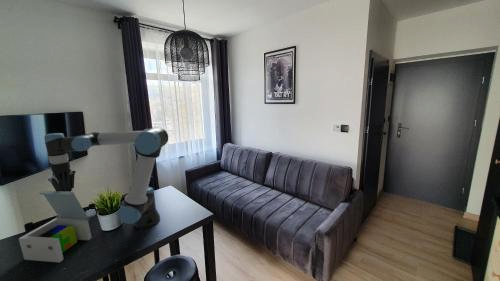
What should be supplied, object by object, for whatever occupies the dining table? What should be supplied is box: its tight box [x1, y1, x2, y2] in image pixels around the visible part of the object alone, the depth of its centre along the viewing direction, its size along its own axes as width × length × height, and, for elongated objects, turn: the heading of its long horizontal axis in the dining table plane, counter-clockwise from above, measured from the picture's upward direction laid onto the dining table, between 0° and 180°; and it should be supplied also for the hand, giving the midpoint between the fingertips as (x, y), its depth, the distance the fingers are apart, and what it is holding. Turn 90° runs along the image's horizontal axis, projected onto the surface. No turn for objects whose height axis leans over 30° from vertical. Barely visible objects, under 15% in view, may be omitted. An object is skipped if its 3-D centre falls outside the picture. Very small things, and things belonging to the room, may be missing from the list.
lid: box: [38, 190, 87, 219], centre depth 111 cm, size 18×20×2 cm
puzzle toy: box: [39, 225, 78, 254], centre depth 109 cm, size 10×10×10 cm
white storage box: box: [18, 214, 92, 263], centre depth 108 cm, size 21×19×14 cm
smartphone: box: [84, 209, 97, 218], centre depth 145 cm, size 7×1×15 cm
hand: (68, 202), depth 113 cm, fingers closed
